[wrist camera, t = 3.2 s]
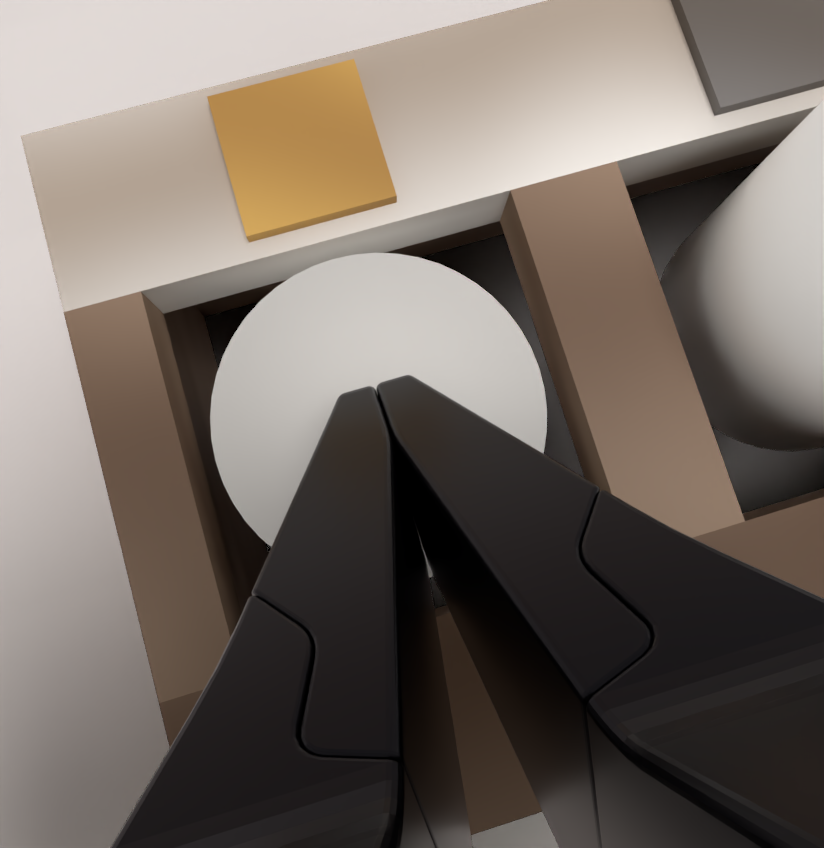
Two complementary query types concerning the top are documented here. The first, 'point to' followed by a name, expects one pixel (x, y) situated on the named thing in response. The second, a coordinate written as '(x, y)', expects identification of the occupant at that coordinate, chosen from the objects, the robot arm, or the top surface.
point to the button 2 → (359, 367)
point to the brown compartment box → (419, 236)
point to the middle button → (760, 299)
